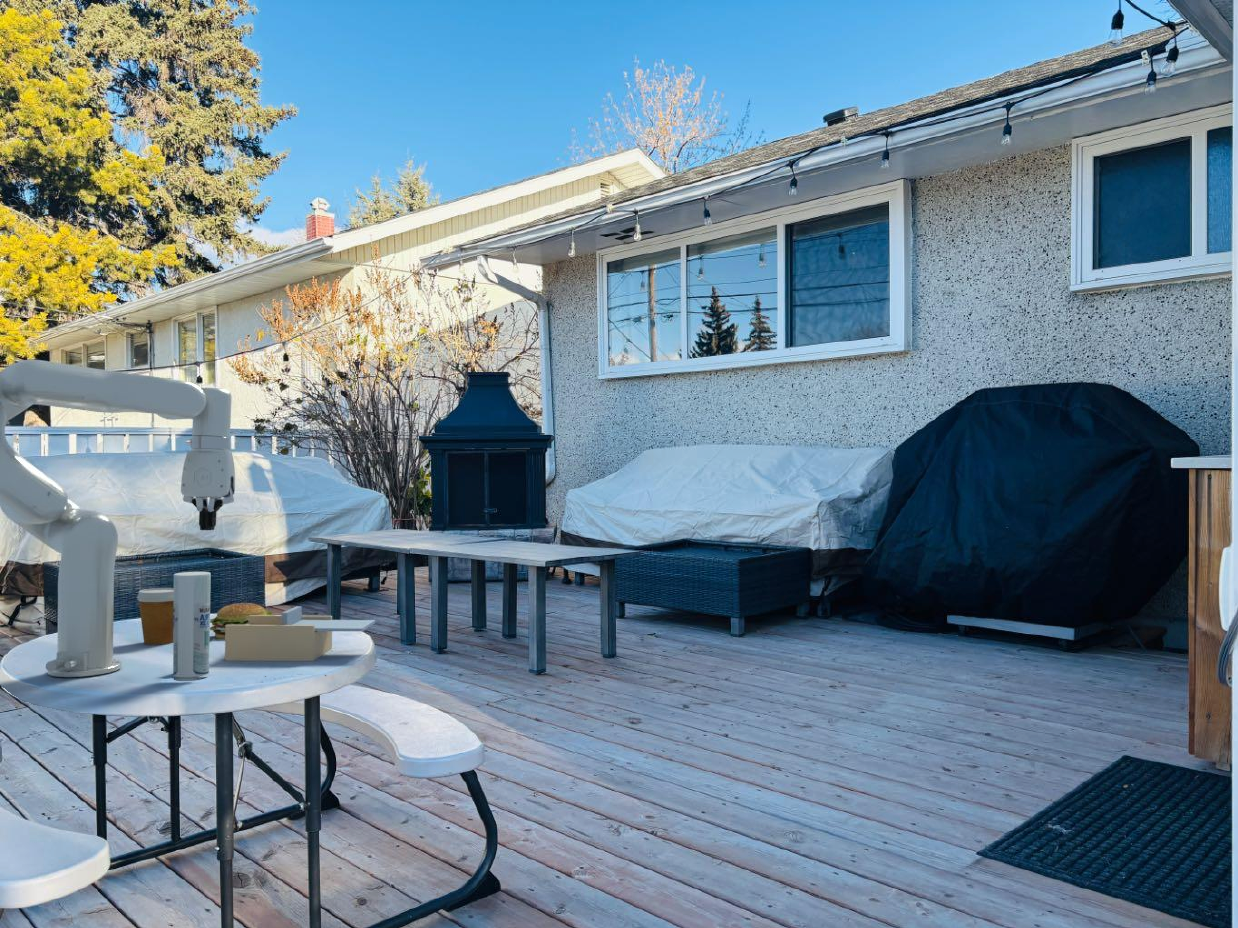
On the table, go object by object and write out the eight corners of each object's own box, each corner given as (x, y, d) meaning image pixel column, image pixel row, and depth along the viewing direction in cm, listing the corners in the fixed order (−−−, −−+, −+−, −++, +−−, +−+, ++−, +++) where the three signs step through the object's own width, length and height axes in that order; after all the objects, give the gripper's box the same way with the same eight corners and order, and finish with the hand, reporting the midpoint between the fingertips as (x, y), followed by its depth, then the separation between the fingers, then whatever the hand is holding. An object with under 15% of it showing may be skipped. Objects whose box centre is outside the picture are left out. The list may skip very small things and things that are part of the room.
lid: (362, 631, 189) (362, 614, 189) (277, 630, 189) (277, 613, 189) (375, 622, 200) (375, 606, 200) (294, 622, 200) (294, 605, 200)
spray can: (180, 673, 179) (181, 571, 179) (214, 673, 179) (216, 571, 179) (166, 681, 172) (167, 575, 172) (201, 681, 173) (203, 575, 173)
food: (235, 644, 209) (236, 609, 209) (198, 638, 217) (199, 604, 217) (286, 635, 221) (286, 602, 221) (249, 629, 228) (250, 597, 228)
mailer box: (312, 664, 188) (313, 625, 188) (224, 664, 188) (225, 625, 188) (331, 652, 201) (332, 615, 201) (249, 651, 201) (249, 615, 201)
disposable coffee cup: (169, 646, 206) (169, 593, 206) (127, 646, 206) (128, 592, 206) (190, 638, 215) (190, 587, 215) (150, 638, 215) (150, 587, 215)
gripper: (167, 443, 195) (164, 529, 194) (236, 445, 194) (232, 532, 193) (186, 445, 202) (182, 528, 202) (252, 447, 201) (248, 530, 201)
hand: (207, 529), depth 198 cm, fingers closed
